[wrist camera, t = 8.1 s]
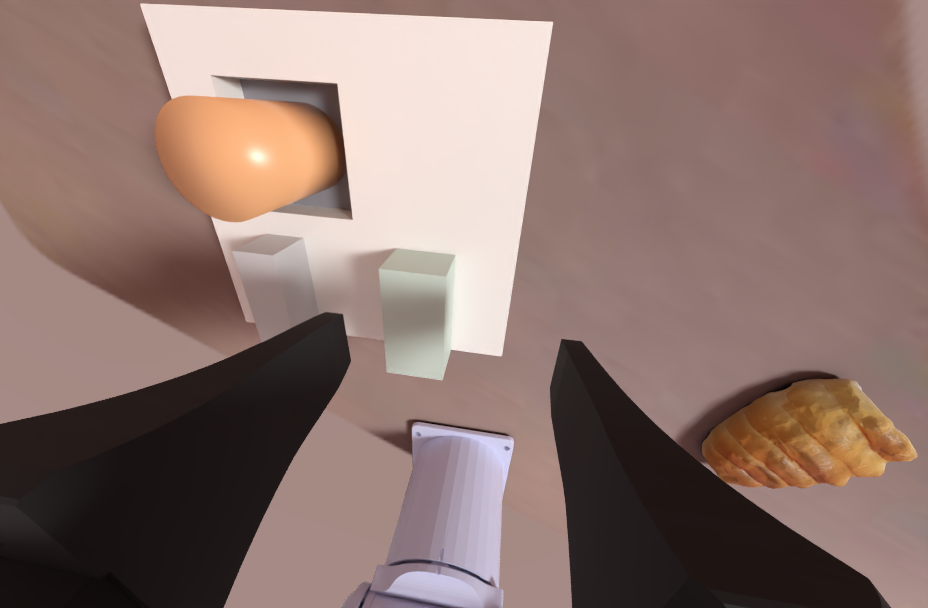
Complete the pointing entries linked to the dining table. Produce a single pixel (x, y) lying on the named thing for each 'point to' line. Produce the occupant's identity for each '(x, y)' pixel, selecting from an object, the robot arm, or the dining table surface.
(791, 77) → the dining table surface
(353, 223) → the housing
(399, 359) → the block
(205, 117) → the peg
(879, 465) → the pastry
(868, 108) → the dining table surface
